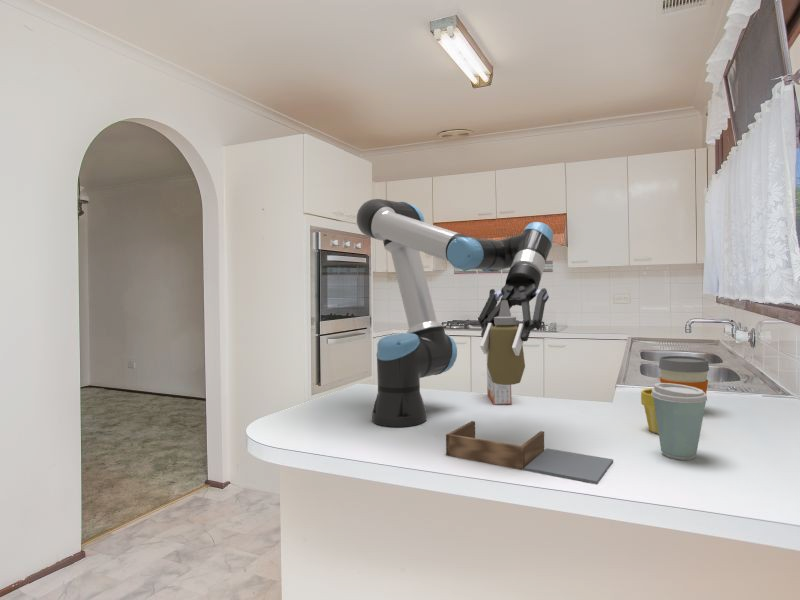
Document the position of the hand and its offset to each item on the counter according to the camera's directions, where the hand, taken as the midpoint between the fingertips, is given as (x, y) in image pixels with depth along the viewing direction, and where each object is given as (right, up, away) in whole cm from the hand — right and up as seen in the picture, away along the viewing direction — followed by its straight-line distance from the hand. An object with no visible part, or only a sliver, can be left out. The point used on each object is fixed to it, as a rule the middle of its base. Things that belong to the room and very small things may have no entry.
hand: (499, 350), depth 110 cm
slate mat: (+14, -23, -4) cm, 27 cm away
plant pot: (+44, -22, +19) cm, 53 cm away
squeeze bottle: (+2, -8, +3) cm, 8 cm away
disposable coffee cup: (+39, -23, +1) cm, 45 cm away
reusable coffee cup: (+60, -21, +38) cm, 74 cm away
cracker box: (+10, -21, +56) cm, 61 cm away
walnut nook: (0, -23, +5) cm, 24 cm away
